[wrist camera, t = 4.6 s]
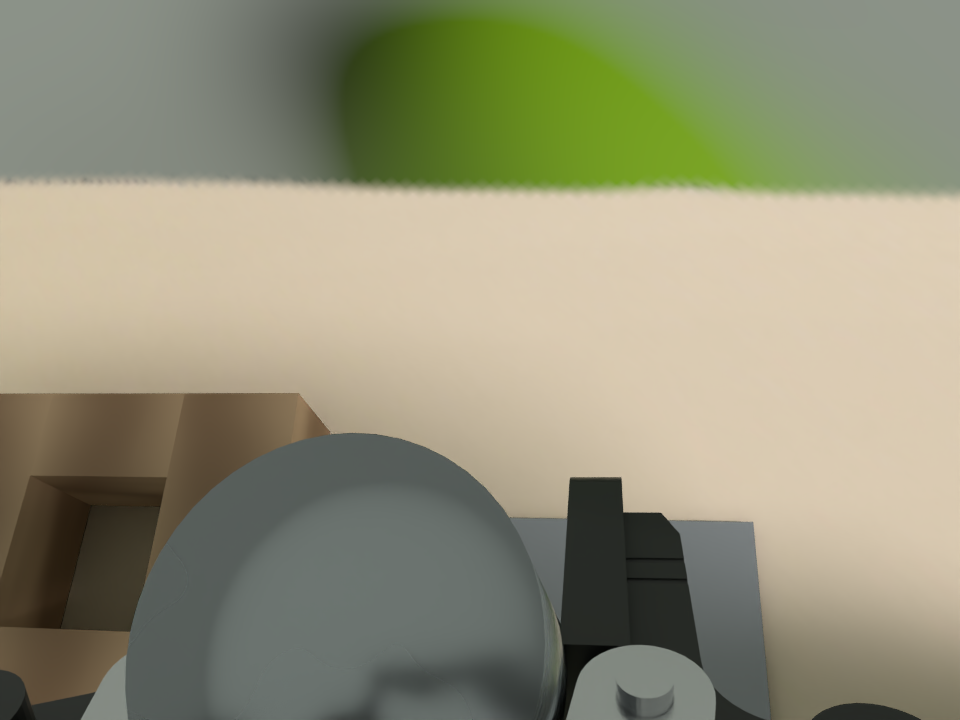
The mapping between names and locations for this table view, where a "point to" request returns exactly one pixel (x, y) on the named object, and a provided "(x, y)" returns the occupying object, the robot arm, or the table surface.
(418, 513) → the peg
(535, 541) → the mat
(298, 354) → the table surface
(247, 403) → the hole block
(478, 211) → the table surface
